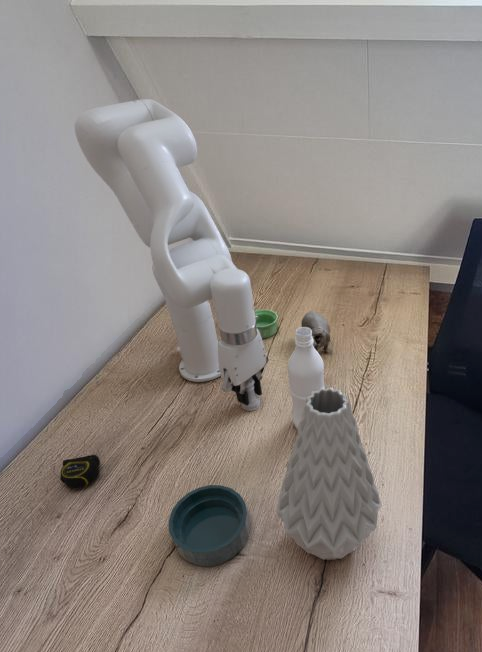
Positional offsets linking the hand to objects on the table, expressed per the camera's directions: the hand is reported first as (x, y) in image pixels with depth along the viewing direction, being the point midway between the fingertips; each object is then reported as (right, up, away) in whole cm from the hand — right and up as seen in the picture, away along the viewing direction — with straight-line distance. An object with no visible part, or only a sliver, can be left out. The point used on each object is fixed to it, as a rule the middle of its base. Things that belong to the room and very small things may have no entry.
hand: (249, 396), depth 104 cm
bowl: (-4, -24, -22) cm, 33 cm away
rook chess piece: (0, -2, +2) cm, 3 cm away
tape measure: (-33, -16, -11) cm, 38 cm away
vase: (+17, -25, -24) cm, 39 cm away
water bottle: (+14, -7, -4) cm, 16 cm away
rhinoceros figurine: (+15, +12, +16) cm, 25 cm away
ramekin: (+1, +19, +24) cm, 31 cm away
